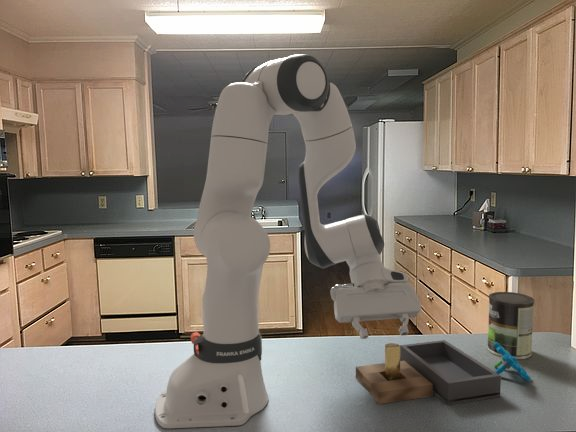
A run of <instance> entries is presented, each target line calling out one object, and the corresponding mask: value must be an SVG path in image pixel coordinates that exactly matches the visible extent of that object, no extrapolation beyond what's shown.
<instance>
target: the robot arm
mask: <svg viewBox="0 0 576 432" xmlns="http://www.w3.org/2000/svg"><path fill="white" fill-rule="evenodd" d="M287 115H293V116H294V118H296V119H297V121H298V122H299V124H300V125H299V126H300V129H301V130H300V131H301V134H302V137H303V140H304V146H305V155H304V161H302V162H301V163H300V164H299V167H298V177H297V178H298V187H299V196H300V202H301V204H300V205H301V211H302V212H301V213H302V219H303V220H302V221H303V228H304V252H305V255H306V257H307V259H308V261H309V263H311V264H312V265H314V266H316V267H319V268H321V269H325V268H328V267H331V266H334V265H337V264H339V263H343V262H346V264H347V265H348V267H349V278H350V282H351V283H344V284H335V285H334V286H332V287H331V288H330V290H329V294H330V298H331V300H332V301H333V310H334V318H335V320H336V321H337V322H338V323H340V324H343V323H344V324H345V323H351V325H352V327H353V329H355V330H356V332H357V333H359V339H360V340H362V339H365V340H367V339H368V338H369V332H368V328H367V327H366V328H364V327H363V326H362V325H361V324H360V322H370V321H382V320H394V319H396V320H397V319H399V320H400V322H401V323H402V325H400V326H399V328H398V332H399V335H400V337H402V336H408V335H409V328H408V324H409V320H410V319H411V318H416V317H418V315H419V313H420V312H421V310H422V304H421V302H420V298H419V297H418V296H419V295H418V294H417V292H416V289H415V288H414V287H413V286H412V284H411V283H408V281H409V276H408V274H407V273H405V272H402V271H396V270H392V269H390V268H386V267H385V264H384V263H383V262H382V260H381V256H382V255H381V254H382V252H383V250H384V248H385V242H384V239H383V237H382V235H381V231H380V225H379V223H378V221H377V220H376V219H375V218H373V217H372V216H370V215H368V214H359V215H355V216H352V217H349V218H346V219H343V220H338V221H335V222H331V223H327V224H322V223H321V220H320V219H321V217H320V209H319V201H318V194H319V191H320V190H321V188H322V187H323V186H324V185H325V184H326V183H327V182H329V181H330V180H331V179H332V178H333V177H335V176H337V175H338V174H339V173H340V172H342V171H343V170H344V169H345V168H346V167H347V166H348V165H349V164H350V162H351V161H352V160H353V157H354V156H355V154H356V149H357V144H356V137H355V132H354V128H353V124H352V120H351V117H350V114H349V111H348V108H347V106H346V103H345V101H344V98H343V97H342V93H341V92H340V90H339V88H338V87H337V86H336V84H334V83H332V82H330V80H329V75H328V73H327V71H326V69H325V68H324V65H323V64H322V63H321V62H320V61H319V60H318V59H317V58H316V57H314V56H312V55H310V54H302V53H301V54H300V53H299V54H293V55H289V56H287V57H282V58H280V57H279V58H274V59H271V60H268V61H266V62H265V63H263V64H260V65H256V66H255V67H253V68H251V69H250V70H249V71H248V72H247V73H246V74H245V75H244V77H243V78H242V81H240V82H233V83H230V84H228V85H226V86H225V87H224V88H223V89H222V91H221V92H220V95H219V97H218V101H217V104H216V107H215V112H214V115H213V116H214V117H213V120H212V121H213V122H212V126H211V134H210V143H209V144H210V145H209V153H208V160H207V161H208V162H207V169H206V178H205V183H204V185H203V186H204V188H203V191H202V195H201V198H200V201H199V202H200V203H199V207H198V212H197V215H196V222H195V224H194V227H193V240H194V244H195V246H196V248H197V250H198V252H199V253H200V254H201V255H203V257H205V258H206V263H207V264H206V267H207V269H206V270H207V271H206V280H205V287H204V292H203V295H202V300H201V301H202V325H203V327H202V328H203V329H202V330H203V333H202V334H200V333H199V332H196V331H195V332H192V333H191V334H190V342H191V344H192V345H193V354H192V355H191V356H190V357H188V358H187V359H186V360H185V361H184V362H182V363H181V364H180V365H179V366H177V367H176V368H175V369H174V370H173V371H172V372H171V374H170V376H169V379H168V382H167V387H166V389H165V390H163V391H162V392H161V393H160V394H159V396H158V398H157V399H156V403H155V408H154V409H155V410H154V416H155V421H156V422H157V424H158V425H159V426H160V427H162V429H183V428H184V429H185V428H205V427H206V428H208V427H209V428H210V427H211V428H212V427H229V426H234V427H236V426H241V425H242V426H243V425H244V424H246V423H247V422H248V420H249V419H250V418H251V417H252V416H254V415H255V414H257V413H259V412H260V411H262V410H263V409H264V408H265V407H266V405H267V404H268V403H269V394H268V392H267V389H266V385H265V381H264V377H263V370H262V362H261V361H262V355H263V343H262V341H263V339H262V334H261V331H260V328H259V326H260V325H259V324H260V323H259V293H260V287H261V286H260V285H261V280H262V275H263V274H262V273H263V269H264V265H265V263H266V262H267V260H268V258H269V255H270V253H271V240H270V236H269V234H268V232H267V231H266V229H265V228H264V226H262V224H261V223H260V222H259V221H258V220H256V219H255V218H253V217H252V216H251V215H252V212H253V209H254V204H255V202H256V199H257V195H258V193H259V191H260V189H261V188H262V186H263V183H264V178H265V169H266V160H267V152H268V142H269V130H270V129H269V128H270V125H271V122H272V120H273V117H274V116H287Z"/></svg>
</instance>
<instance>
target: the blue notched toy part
mask: <svg viewBox="0 0 576 432" xmlns="http://www.w3.org/2000/svg"><path fill="white" fill-rule="evenodd" d="M494 346H495V347H496V349H497V351H498V352H499V353H500V354H501V355H502V357H500V360H499V361H498V362H497V363H495V364H494V365H493V367H494V368H495V369H496V370H495V371H494V370H493V371H494V372H496V373H497V374H499V375H501V374H502V373H503V372H504V371H505V370H506V369H507V370H509V369H510V368H512V369H513V371H517V372H518V374H519V376H520V377H522V378H523V379H524V380H526V381H527V382H530V381H531V380H532V379H531V376H530V375H529V374H528V372H527V371H526V370H525V369H524V368H523V367H522V366H521V364H520V362H518V359H516V358H515V357H514V356H513V357H512V356H511V355H510V353H509V352H508V351H507V350H506V351H505V349H504V348H503V347H502V346H500V344H499V343H498V342H495V343H494Z"/></svg>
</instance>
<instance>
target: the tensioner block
mask: <svg viewBox="0 0 576 432" xmlns="http://www.w3.org/2000/svg"><path fill="white" fill-rule="evenodd" d="M355 378H356V379H357V381H358V382H359V383H360V385H362V387H363V388H364V389H365V390H366V391H367V392H368V394H369V395H371V397H372V398H373V400H375V402H376V403H378V405H380V404H388V403H393V402H401V401H409V400H413V399H421V398H429V397H432V396H433V394H434V392H433V384H432V383H431V382H429V381H428V380H427V379H426V378H425V377H423V376H422V375H421V374H420V373H419V372H417V371H416V370H415V369H414V368H413V367H411V366H410V365H409V364H408V363H407V362H405V361H400V379H399V380H392V381H387V380H386V379H385V362H383V363H376V364H368V365H359V366H356V367H355Z"/></svg>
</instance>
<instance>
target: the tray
mask: <svg viewBox="0 0 576 432" xmlns="http://www.w3.org/2000/svg"><path fill="white" fill-rule="evenodd" d="M399 345H400V361H405V362H407V363H408V364H409V365H410V366H411V367H413V368H414V369H415V370H416V371H417V372H419V373H420V374H421V375H422V376H423V377H425V378H426V379H427V380H428V381H429V382H431V383H432V384H433V394H435V395H436V396H437V398H440V399H441V400H442V401H443V402H444V403H445V404H446V405H448V406H450V405H457V404H462V403H463V404H464V403H469V402H476V401H481V400H488V399H494V398H500V397H501V387H502V386H501V382H502V381H501V380H502V375H501V374H497V373H496V372H494V370H492V369H491V368H489V367H488V366H486V365H484V364H483V363H482V362H480V361H478V360H477V359H476V358H473V357H472V356H471V355H469V354H467V353H465V352H464V351H462V350H461V349H460V348H457V347H456V346H455V345H453V344H452V343H450V342H449V341H447V340H445V339H443V340H435V341H433V340H432V341H425V342H417V343H409V344H408V343H407V344H399Z"/></svg>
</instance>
